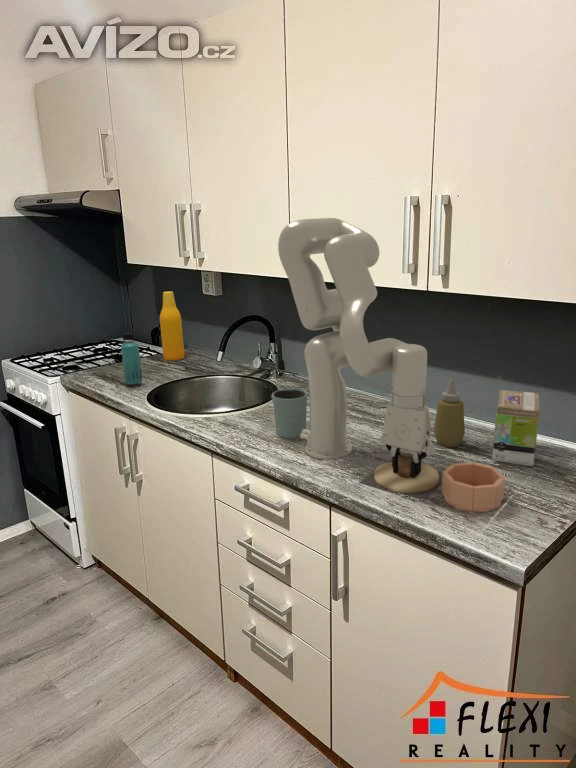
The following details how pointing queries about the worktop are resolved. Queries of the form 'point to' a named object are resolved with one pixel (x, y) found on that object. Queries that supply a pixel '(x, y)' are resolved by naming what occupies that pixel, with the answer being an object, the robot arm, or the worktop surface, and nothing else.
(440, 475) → the mat
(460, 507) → the bowl
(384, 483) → the lid
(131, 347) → the beverage bottle
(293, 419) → the blue-green cup
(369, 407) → the worktop surface
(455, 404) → the squeeze bottle
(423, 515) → the worktop surface
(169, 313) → the beer bottle
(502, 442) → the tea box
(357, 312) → the robot arm
